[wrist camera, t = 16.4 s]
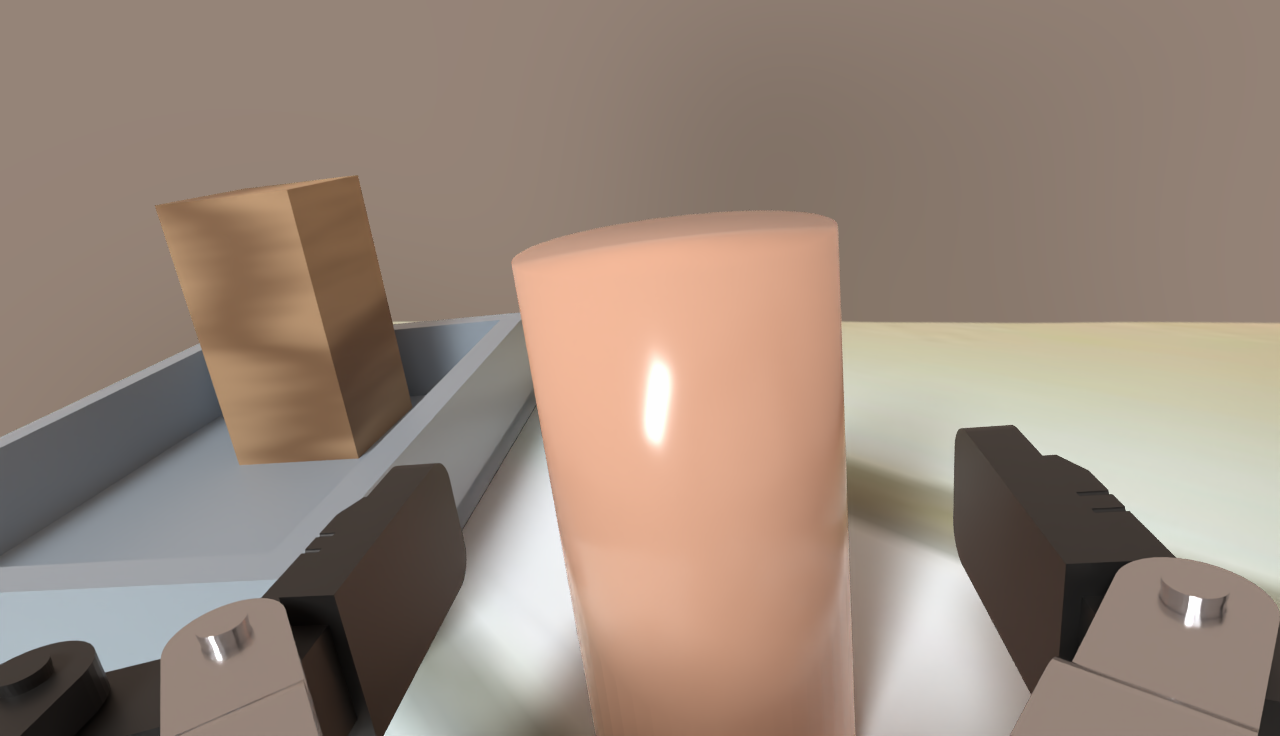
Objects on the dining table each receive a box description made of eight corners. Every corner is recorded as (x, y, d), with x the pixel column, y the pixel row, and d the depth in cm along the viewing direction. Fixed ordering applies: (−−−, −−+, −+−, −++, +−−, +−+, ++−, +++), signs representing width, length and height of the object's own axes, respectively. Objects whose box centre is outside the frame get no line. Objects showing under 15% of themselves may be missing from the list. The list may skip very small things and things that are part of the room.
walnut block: (412, 407, 33) (357, 175, 30) (358, 458, 28) (286, 189, 25) (308, 414, 34) (243, 188, 31) (239, 465, 29) (154, 205, 26)
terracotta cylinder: (762, 625, 18) (728, 203, 15) (914, 776, 14) (913, 224, 10) (565, 708, 16) (478, 250, 13) (669, 912, 12) (575, 299, 9)
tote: (226, 419, 37) (201, 342, 36) (542, 394, 35) (527, 311, 34) (-276, 747, 18) (-366, 609, 17) (339, 736, 16) (289, 579, 15)
